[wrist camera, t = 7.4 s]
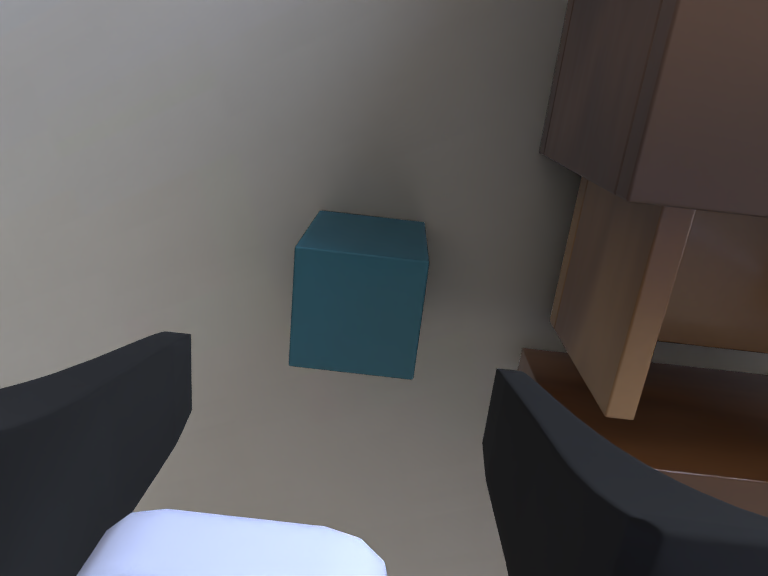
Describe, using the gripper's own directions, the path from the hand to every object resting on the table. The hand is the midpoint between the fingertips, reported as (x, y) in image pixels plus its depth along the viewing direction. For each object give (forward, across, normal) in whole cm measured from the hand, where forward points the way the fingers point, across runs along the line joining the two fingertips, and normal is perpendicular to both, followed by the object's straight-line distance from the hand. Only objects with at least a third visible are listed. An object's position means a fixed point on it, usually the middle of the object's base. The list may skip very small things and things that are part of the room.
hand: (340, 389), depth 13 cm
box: (+9, 0, 0) cm, 9 cm away
